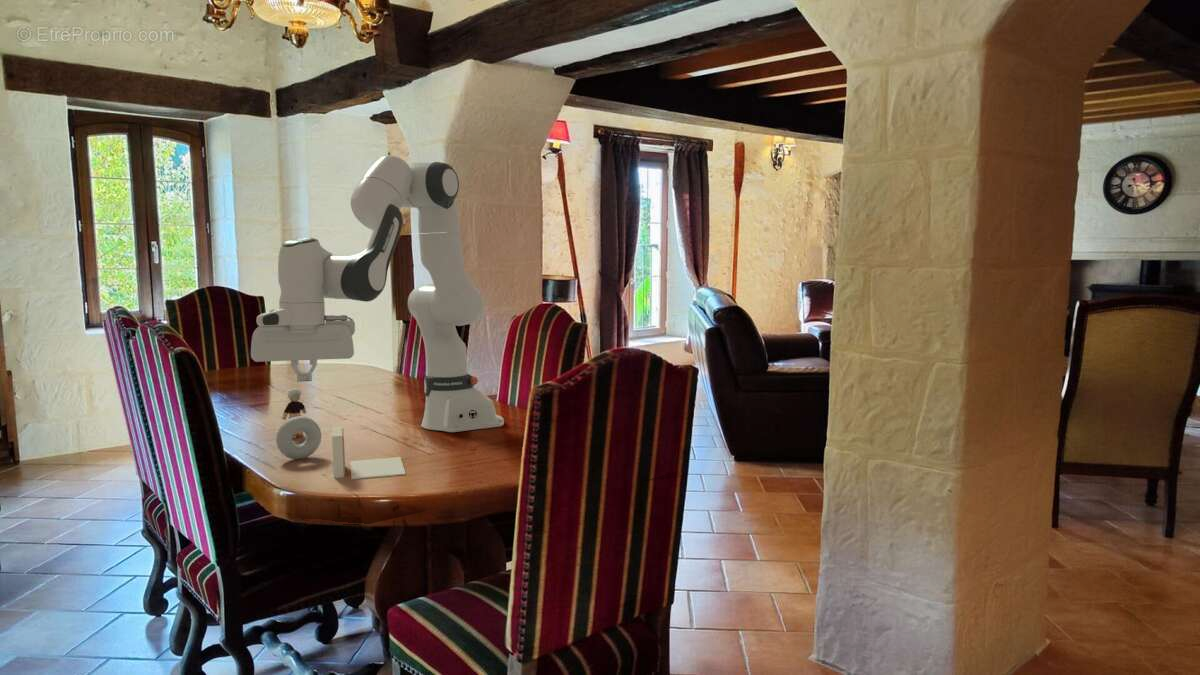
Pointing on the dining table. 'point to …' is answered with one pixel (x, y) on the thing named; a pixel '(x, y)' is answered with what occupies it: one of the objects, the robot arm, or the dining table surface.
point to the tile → (338, 452)
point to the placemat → (377, 468)
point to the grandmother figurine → (294, 408)
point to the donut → (287, 432)
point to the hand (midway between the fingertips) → (304, 381)
